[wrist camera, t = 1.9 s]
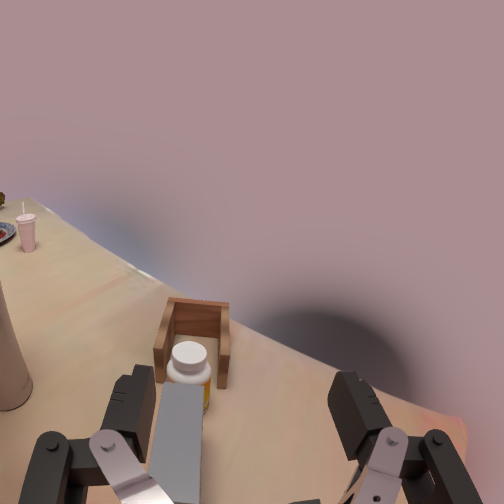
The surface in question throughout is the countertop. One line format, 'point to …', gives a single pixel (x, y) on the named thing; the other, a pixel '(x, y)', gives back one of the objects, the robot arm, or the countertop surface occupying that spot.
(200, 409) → the grey rectangular box
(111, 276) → the countertop surface
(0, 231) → the ceramic plate
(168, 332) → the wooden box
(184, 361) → the supplement bottle
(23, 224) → the smoothie
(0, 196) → the potato
